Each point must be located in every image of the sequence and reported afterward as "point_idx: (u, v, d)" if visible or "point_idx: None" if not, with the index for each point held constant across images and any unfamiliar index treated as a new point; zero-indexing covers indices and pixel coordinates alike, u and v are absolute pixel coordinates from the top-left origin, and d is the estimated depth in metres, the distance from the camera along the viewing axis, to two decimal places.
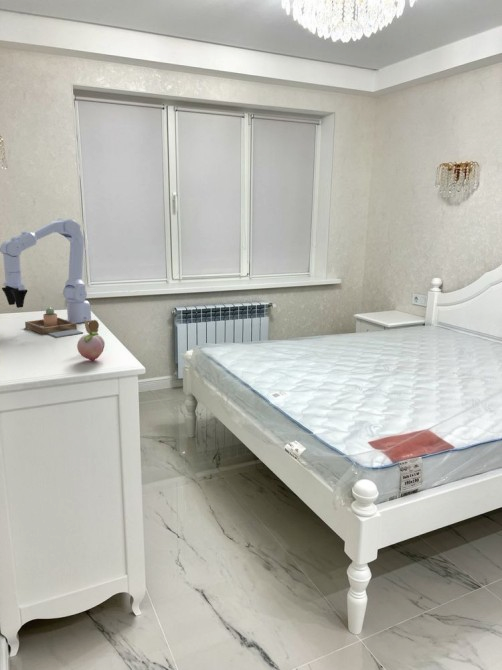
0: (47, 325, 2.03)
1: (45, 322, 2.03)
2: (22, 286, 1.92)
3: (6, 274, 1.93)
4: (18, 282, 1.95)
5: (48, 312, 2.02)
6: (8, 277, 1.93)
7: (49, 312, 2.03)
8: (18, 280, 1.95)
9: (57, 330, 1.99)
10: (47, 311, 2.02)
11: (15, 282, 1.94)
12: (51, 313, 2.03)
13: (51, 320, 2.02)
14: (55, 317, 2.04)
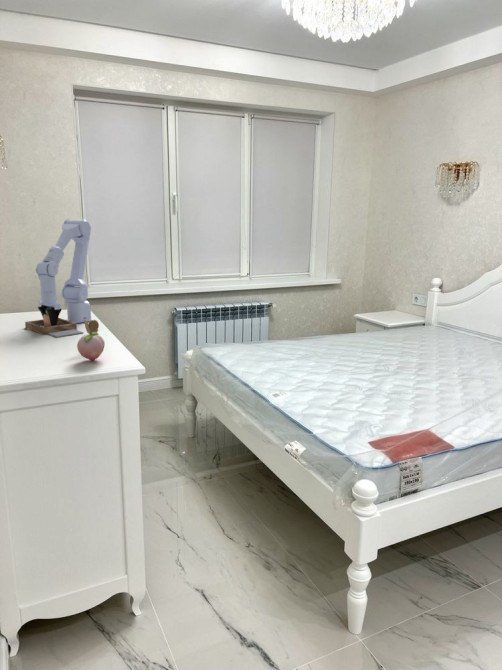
0: (47, 325, 2.03)
1: (45, 322, 2.03)
2: (58, 306, 1.99)
3: (42, 294, 2.00)
4: (54, 301, 2.02)
5: None
6: (45, 296, 2.00)
7: None
8: (54, 299, 2.02)
9: (57, 330, 1.99)
10: None
11: (51, 301, 2.01)
12: None
13: None
14: None
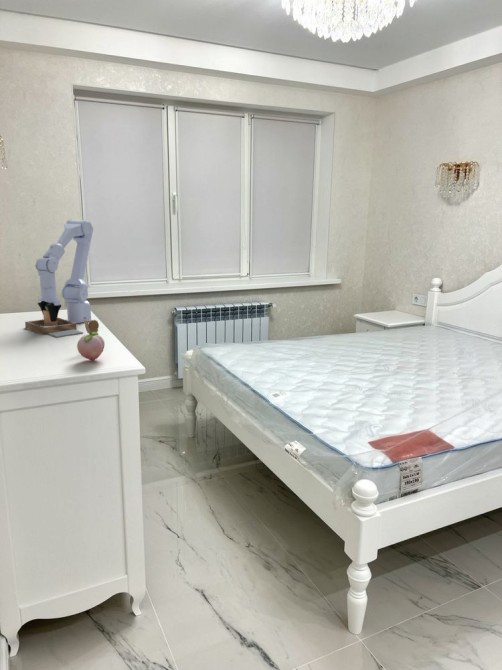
0: (47, 321, 2.02)
1: (45, 318, 2.02)
2: (58, 301, 1.98)
3: (42, 290, 1.99)
4: (53, 297, 2.01)
5: None
6: (44, 292, 1.99)
7: None
8: (53, 295, 2.01)
9: (57, 330, 1.99)
10: None
11: (51, 297, 2.00)
12: None
13: None
14: None
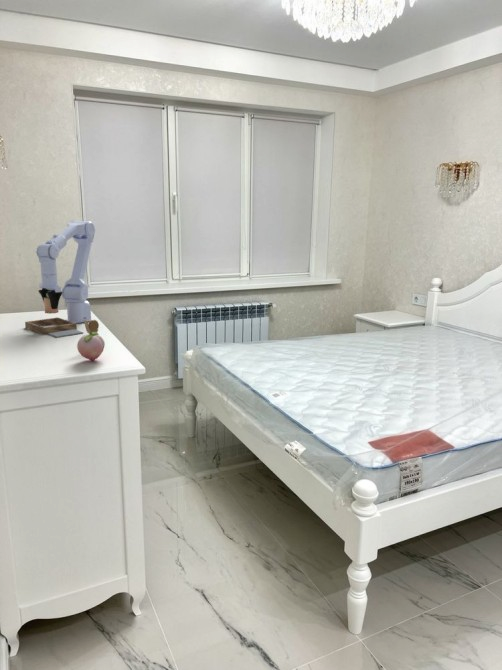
0: (47, 308, 2.00)
1: (45, 305, 2.00)
2: (59, 288, 1.96)
3: (43, 276, 1.97)
4: (54, 284, 1.99)
5: None
6: (45, 279, 1.97)
7: None
8: (54, 282, 1.99)
9: (57, 330, 1.99)
10: None
11: (51, 284, 1.98)
12: None
13: None
14: None
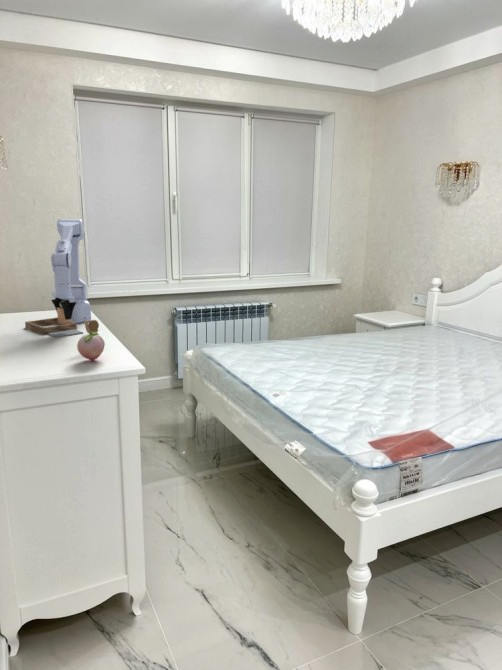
0: (61, 319, 1.93)
1: (59, 316, 1.93)
2: (73, 298, 1.89)
3: (56, 286, 1.90)
4: (68, 294, 1.92)
5: None
6: (59, 289, 1.90)
7: None
8: (68, 292, 1.92)
9: (57, 330, 1.99)
10: None
11: (65, 294, 1.91)
12: None
13: None
14: None
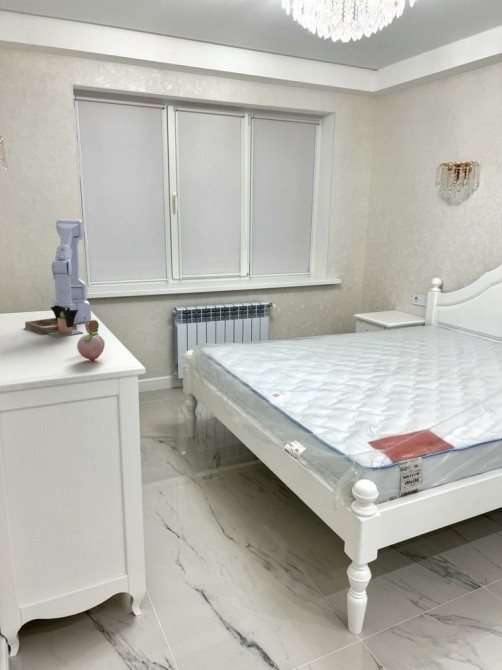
0: (62, 329, 1.94)
1: (59, 326, 1.94)
2: (73, 306, 1.90)
3: (57, 294, 1.91)
4: (68, 302, 1.93)
5: (63, 315, 1.94)
6: (59, 296, 1.91)
7: None
8: (69, 300, 1.93)
9: (57, 330, 1.99)
10: (62, 314, 1.94)
11: (66, 302, 1.92)
12: None
13: None
14: None
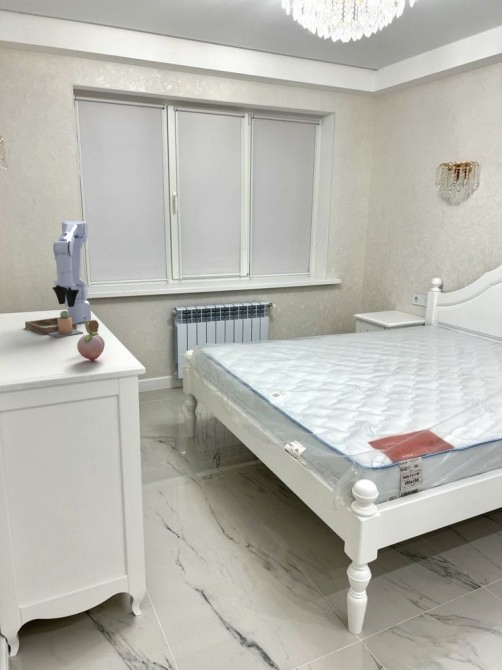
0: (62, 329, 1.94)
1: (59, 326, 1.94)
2: (75, 286, 1.95)
3: (58, 274, 1.96)
4: (70, 282, 1.98)
5: (63, 315, 1.94)
6: (61, 276, 1.96)
7: (64, 315, 1.94)
8: (70, 280, 1.98)
9: (57, 330, 1.99)
10: (62, 314, 1.94)
11: (67, 282, 1.97)
12: (66, 316, 1.95)
13: (66, 323, 1.94)
14: (70, 321, 1.95)
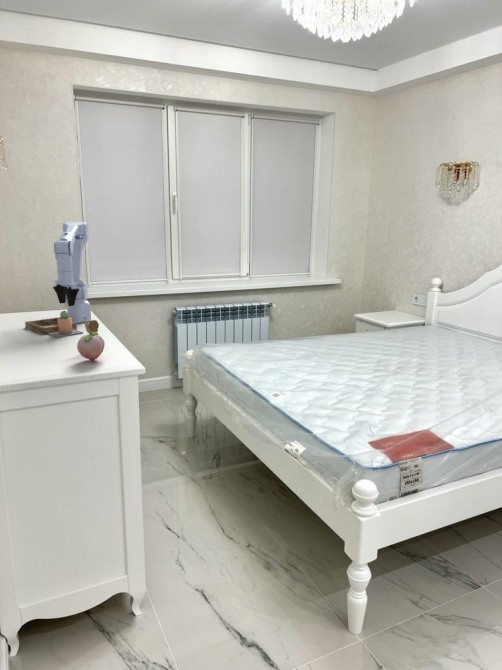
0: (62, 329, 1.94)
1: (59, 326, 1.94)
2: (75, 285, 1.96)
3: (59, 273, 1.97)
4: (70, 281, 1.99)
5: (63, 315, 1.94)
6: (61, 276, 1.97)
7: (64, 315, 1.94)
8: (70, 279, 1.99)
9: (57, 330, 1.99)
10: (62, 314, 1.94)
11: (67, 281, 1.98)
12: (66, 316, 1.95)
13: (66, 323, 1.94)
14: (70, 321, 1.95)
